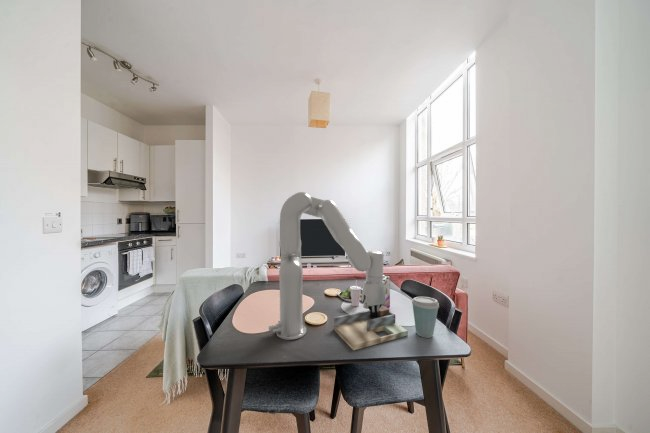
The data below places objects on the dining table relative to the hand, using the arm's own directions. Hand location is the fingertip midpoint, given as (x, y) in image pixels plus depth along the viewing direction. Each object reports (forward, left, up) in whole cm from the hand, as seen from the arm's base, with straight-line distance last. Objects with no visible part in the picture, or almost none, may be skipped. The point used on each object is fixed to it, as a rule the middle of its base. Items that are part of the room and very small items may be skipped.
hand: (373, 319), depth 105 cm
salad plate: (+10, +36, -4) cm, 38 cm away
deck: (-5, -4, -3) cm, 7 cm away
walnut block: (+5, +1, -1) cm, 5 cm away
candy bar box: (+15, +14, -3) cm, 21 cm away
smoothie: (+5, +24, -3) cm, 25 cm away
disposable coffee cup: (+16, -14, -3) cm, 21 cm away
